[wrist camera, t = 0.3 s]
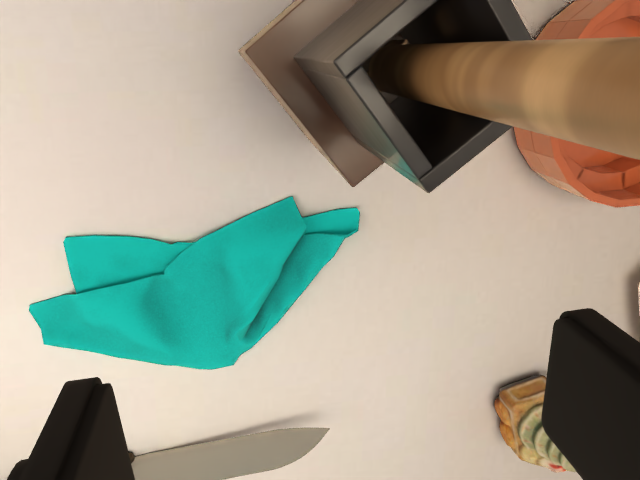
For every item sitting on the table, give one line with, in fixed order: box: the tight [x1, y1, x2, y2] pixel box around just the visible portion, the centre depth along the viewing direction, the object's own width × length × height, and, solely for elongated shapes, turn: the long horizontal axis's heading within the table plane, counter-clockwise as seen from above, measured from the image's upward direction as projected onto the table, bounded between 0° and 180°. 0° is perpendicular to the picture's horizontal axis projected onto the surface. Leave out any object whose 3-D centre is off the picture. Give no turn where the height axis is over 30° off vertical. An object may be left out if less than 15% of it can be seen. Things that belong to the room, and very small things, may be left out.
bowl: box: [513, 0, 640, 207], centre depth 38 cm, size 15×15×6 cm
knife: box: [129, 428, 330, 480], centre depth 42 cm, size 6×2×30 cm
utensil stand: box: [238, 0, 532, 193], centre depth 25 cm, size 8×8×23 cm
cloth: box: [29, 196, 360, 369], centre depth 40 cm, size 26×14×2 cm, turn 96°
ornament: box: [494, 375, 577, 472], centre depth 46 cm, size 8×6×10 cm
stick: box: [361, 37, 640, 160], centre depth 15 cm, size 2×2×18 cm
